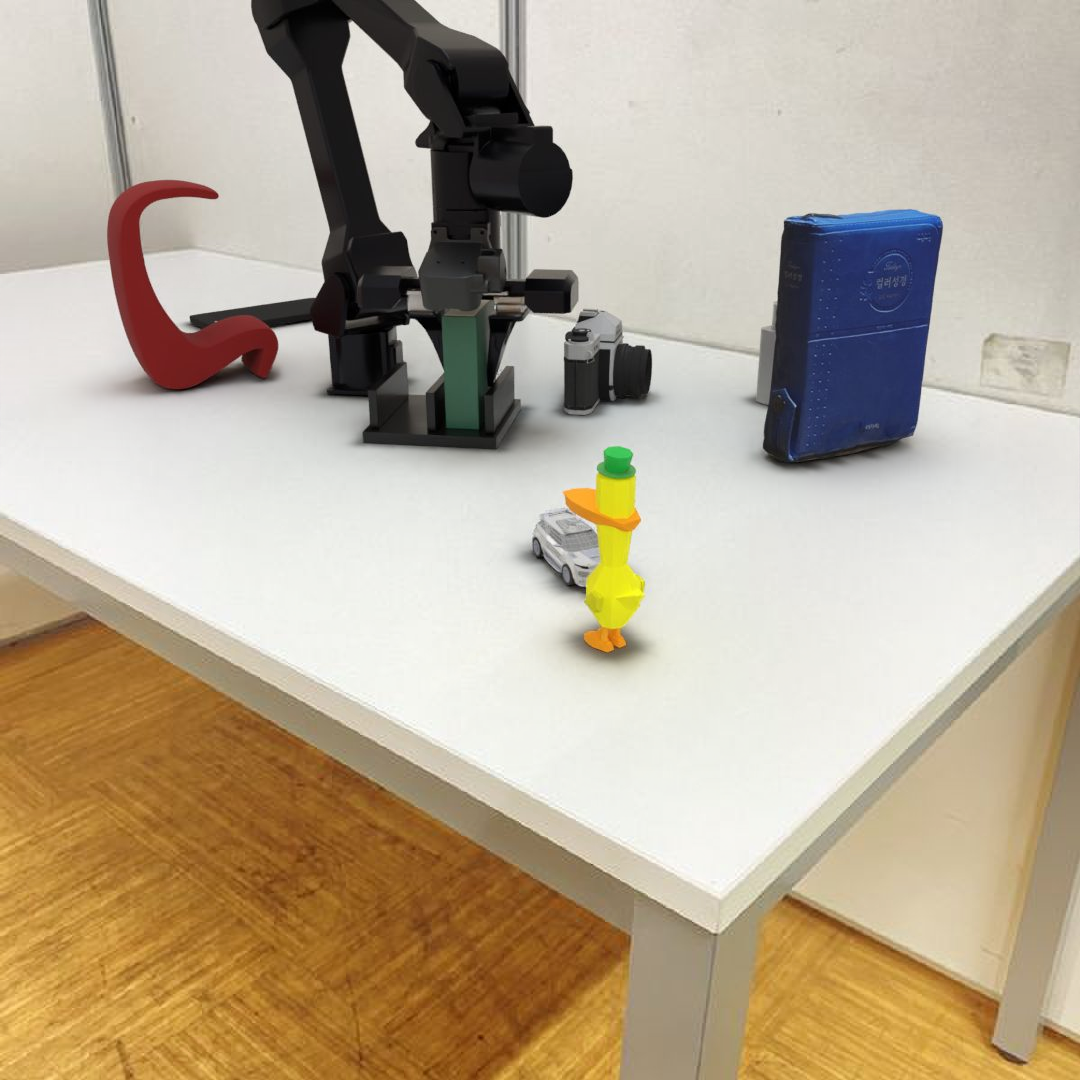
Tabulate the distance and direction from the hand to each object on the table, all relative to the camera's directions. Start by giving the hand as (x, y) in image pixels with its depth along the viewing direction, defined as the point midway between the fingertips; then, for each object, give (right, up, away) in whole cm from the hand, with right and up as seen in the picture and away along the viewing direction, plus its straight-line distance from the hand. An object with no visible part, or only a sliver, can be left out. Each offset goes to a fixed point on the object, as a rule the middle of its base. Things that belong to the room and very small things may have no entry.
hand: (472, 384), depth 102 cm
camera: (+13, 0, +10) cm, 16 cm away
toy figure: (+10, -20, -36) cm, 42 cm away
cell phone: (-29, +14, +43) cm, 54 cm away
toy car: (+8, -16, -27) cm, 32 cm away
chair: (-29, +3, +17) cm, 34 cm away
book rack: (-3, -3, +2) cm, 5 cm away
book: (+32, -6, -5) cm, 33 cm away
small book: (0, -3, +1) cm, 3 cm away
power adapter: (+30, 0, +9) cm, 32 cm away
